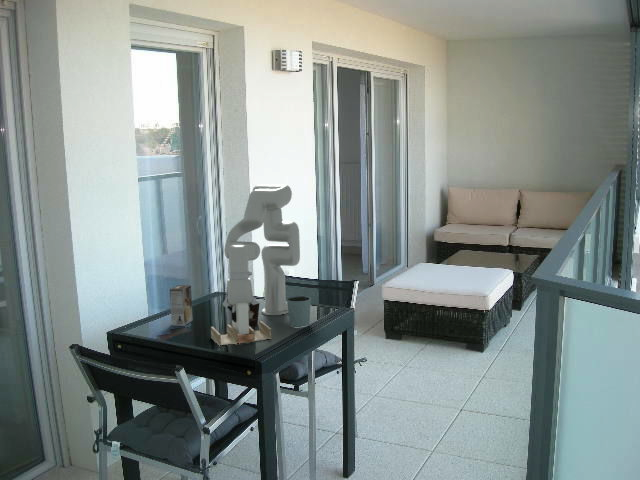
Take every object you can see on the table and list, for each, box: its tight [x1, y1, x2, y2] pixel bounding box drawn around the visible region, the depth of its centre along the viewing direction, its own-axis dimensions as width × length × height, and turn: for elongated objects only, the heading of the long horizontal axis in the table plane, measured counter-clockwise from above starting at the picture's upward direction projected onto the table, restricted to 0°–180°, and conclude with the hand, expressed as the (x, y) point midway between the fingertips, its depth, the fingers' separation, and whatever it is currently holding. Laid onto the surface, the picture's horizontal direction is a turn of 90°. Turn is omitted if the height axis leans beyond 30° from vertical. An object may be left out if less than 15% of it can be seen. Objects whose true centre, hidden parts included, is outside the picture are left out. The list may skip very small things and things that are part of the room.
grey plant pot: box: [286, 295, 312, 327], centre depth 294 cm, size 10×10×12 cm
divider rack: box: [210, 320, 272, 347], centre depth 277 cm, size 21×14×5 cm, turn 112°
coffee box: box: [169, 284, 193, 327], centre depth 301 cm, size 9×6×16 cm
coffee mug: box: [249, 300, 260, 328], centre depth 297 cm, size 12×9×10 cm
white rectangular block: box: [231, 302, 249, 335], centre depth 276 cm, size 4×10×12 cm, turn 22°
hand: (240, 320), depth 276 cm, fingers closed on white rectangular block, 4 cm apart
